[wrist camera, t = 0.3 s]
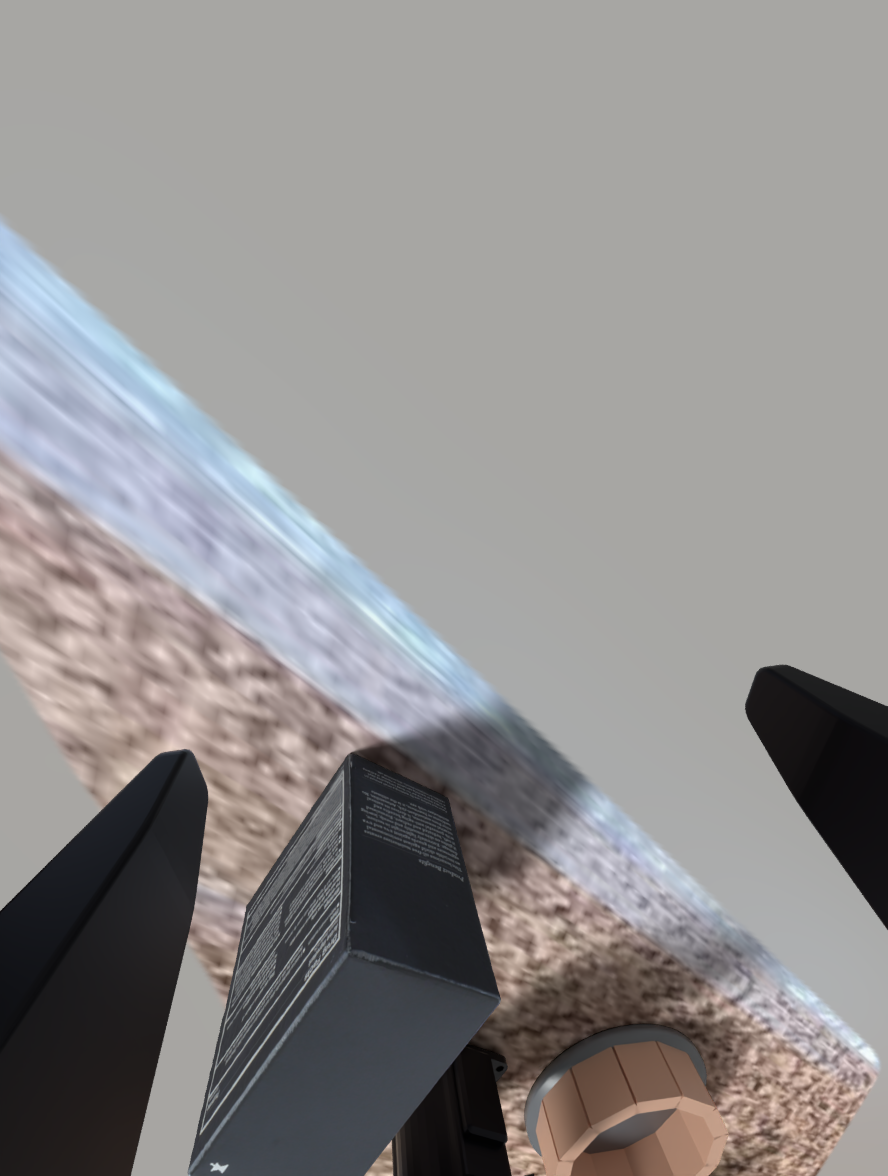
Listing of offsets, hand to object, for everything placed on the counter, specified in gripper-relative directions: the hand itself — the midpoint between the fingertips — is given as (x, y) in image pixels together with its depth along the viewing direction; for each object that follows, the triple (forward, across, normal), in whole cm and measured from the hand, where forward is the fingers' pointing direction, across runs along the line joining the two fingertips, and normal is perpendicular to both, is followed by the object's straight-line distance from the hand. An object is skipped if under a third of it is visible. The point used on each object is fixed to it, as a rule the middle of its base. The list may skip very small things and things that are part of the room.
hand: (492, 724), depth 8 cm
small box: (+11, +5, +19) cm, 23 cm away
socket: (+5, -10, +43) cm, 44 cm away
